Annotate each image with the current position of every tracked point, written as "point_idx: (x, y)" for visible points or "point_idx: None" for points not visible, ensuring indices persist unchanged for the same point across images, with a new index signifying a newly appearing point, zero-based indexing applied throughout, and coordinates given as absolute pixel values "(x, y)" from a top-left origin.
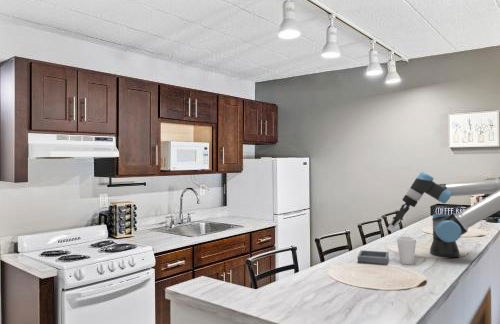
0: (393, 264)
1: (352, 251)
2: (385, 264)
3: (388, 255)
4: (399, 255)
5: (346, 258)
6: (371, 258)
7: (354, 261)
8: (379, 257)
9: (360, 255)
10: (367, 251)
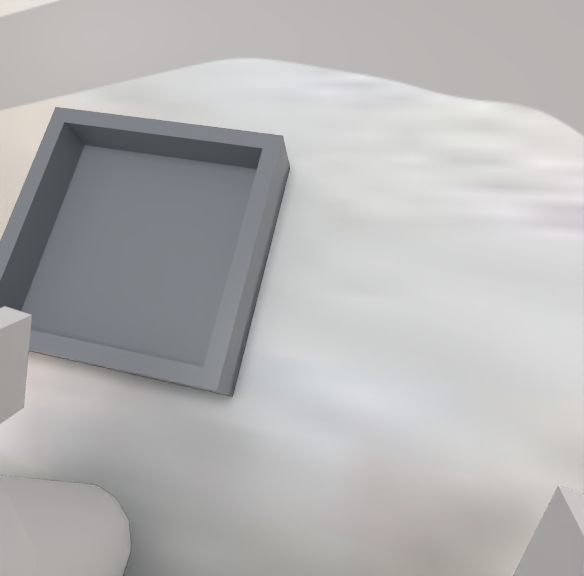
0: (28, 402)
1: (472, 107)
2: None
3: (209, 390)
4: (61, 481)
5: (217, 68)
6: (19, 211)
7: None
8: (192, 304)
9: (117, 132)
10: (252, 192)
